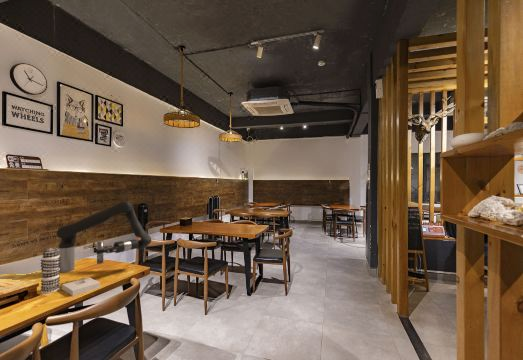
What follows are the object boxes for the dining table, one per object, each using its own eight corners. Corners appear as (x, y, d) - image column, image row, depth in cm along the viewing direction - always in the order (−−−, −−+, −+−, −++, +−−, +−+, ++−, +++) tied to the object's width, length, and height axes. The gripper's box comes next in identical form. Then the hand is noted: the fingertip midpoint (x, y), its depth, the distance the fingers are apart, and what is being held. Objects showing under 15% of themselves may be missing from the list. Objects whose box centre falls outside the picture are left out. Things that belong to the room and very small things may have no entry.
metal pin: (95, 263, 160) (96, 241, 161) (101, 261, 163) (102, 240, 164) (98, 264, 159) (98, 242, 159) (104, 262, 161) (104, 241, 162)
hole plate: (62, 289, 147) (62, 284, 147) (88, 281, 159) (88, 277, 159) (72, 296, 138) (72, 290, 138) (100, 287, 150) (100, 282, 150)
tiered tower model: (59, 291, 144) (59, 249, 145) (38, 295, 139) (39, 251, 140) (61, 286, 152) (62, 245, 152) (42, 289, 147) (42, 247, 148)
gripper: (117, 239, 177) (90, 244, 163) (127, 242, 169) (100, 247, 155) (117, 250, 177) (90, 255, 163) (127, 253, 169) (100, 259, 155)
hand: (95, 251), depth 159 cm, fingers closed on metal pin, 3 cm apart
